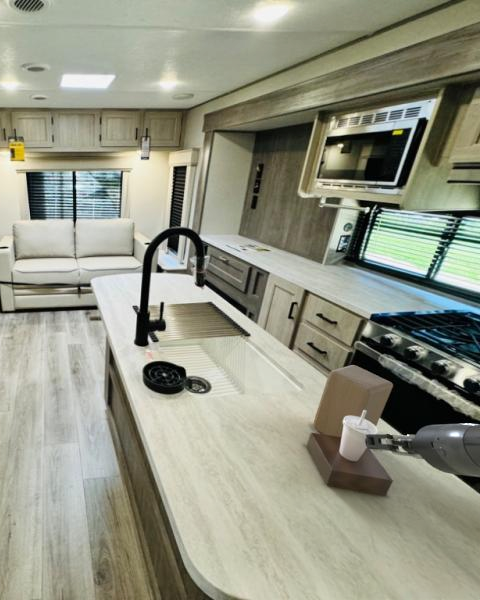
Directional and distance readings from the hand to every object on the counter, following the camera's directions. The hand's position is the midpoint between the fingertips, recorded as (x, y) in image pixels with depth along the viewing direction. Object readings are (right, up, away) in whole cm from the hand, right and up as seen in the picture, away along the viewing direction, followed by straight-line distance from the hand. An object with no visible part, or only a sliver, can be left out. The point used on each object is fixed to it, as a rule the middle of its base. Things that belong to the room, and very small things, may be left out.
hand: (392, 447), depth 64 cm
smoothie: (+3, -9, +14) cm, 17 cm away
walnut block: (+3, -13, +16) cm, 21 cm away
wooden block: (+11, -9, +26) cm, 30 cm away
